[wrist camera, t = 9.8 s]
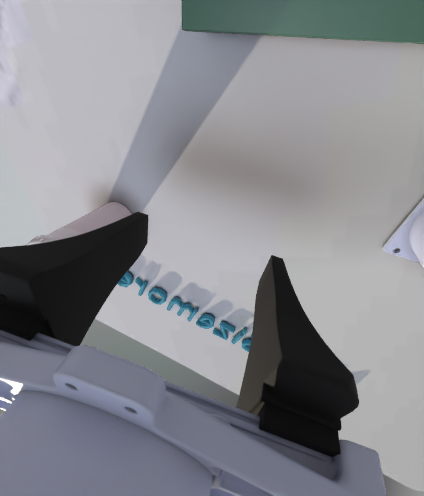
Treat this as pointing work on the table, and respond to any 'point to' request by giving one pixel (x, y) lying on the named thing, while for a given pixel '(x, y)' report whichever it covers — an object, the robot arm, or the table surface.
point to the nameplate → (203, 321)
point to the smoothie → (87, 223)
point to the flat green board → (310, 18)
